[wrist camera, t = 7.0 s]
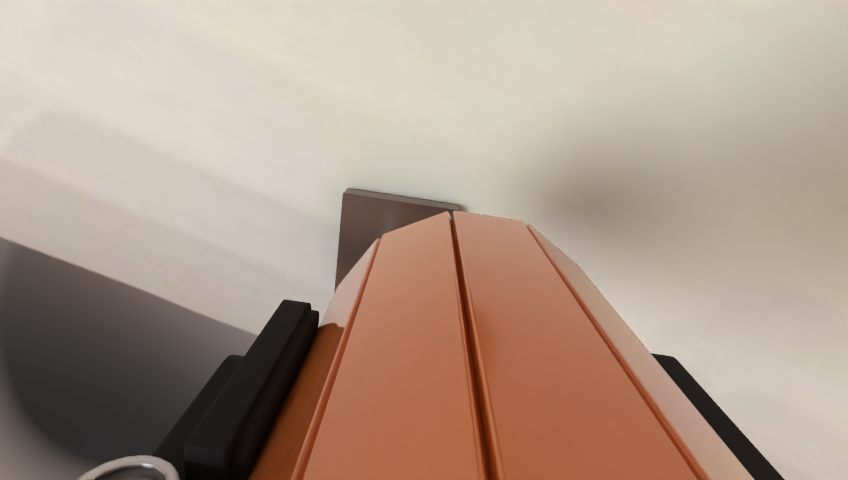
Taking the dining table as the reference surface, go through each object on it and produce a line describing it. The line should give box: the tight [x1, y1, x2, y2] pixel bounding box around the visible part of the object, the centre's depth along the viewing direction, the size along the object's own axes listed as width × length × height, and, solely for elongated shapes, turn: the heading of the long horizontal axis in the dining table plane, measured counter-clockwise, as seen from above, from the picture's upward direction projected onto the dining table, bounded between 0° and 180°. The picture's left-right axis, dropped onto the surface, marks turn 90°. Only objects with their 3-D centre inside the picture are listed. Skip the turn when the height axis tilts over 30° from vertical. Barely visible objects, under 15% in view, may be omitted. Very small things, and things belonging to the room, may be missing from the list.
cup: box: [248, 211, 754, 480], centre depth 7 cm, size 7×7×8 cm
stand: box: [334, 188, 459, 294], centre depth 26 cm, size 8×8×13 cm
